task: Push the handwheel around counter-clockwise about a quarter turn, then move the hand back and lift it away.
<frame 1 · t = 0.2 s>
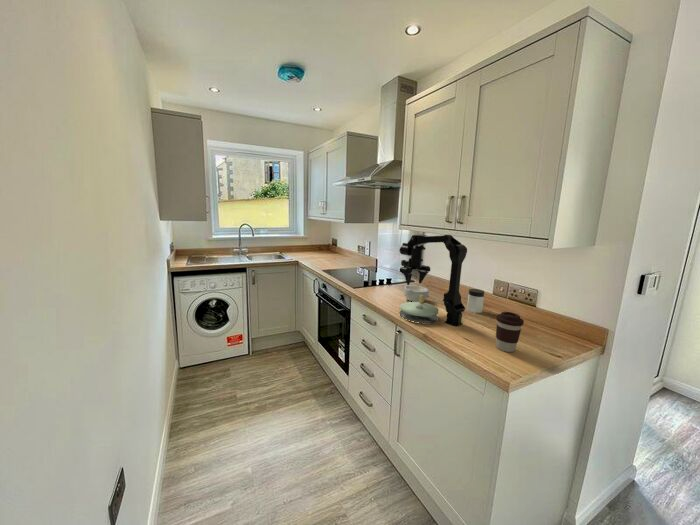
hand: (414, 284, 165), 14 cm above the worktop, tool pointing down, fingers open, 9 cm apart
handwheel: (419, 304, 153), point 7 cm above the worktop, hinge at 0.0°
paper bowls: (415, 300, 184), on the worktop
jar: (474, 310, 169), on the worktop
grey metal shallow dish: (418, 316, 155), on the worktop
coffee cup: (505, 348, 122), on the worktop
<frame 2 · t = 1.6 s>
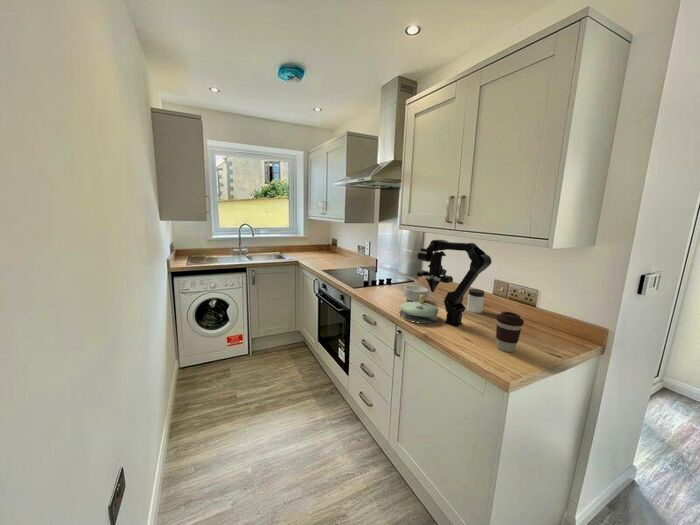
hand: (432, 292, 156), 13 cm above the worktop, tool pointing down, fingers closed
nothing on the worktop moved.
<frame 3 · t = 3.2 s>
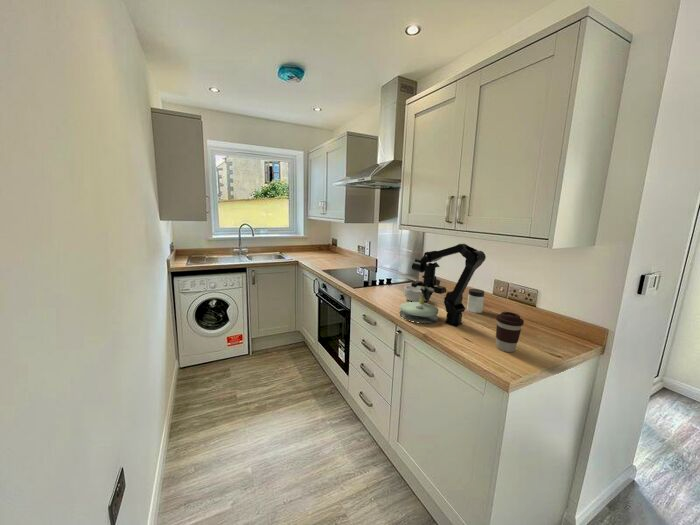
hand: (426, 302, 160), 6 cm above the worktop, tool pointing down, fingers closed
handwheel: (419, 304, 153), point 7 cm above the worktop, hinge at 0.3°, touching gripper
everything else where it was.
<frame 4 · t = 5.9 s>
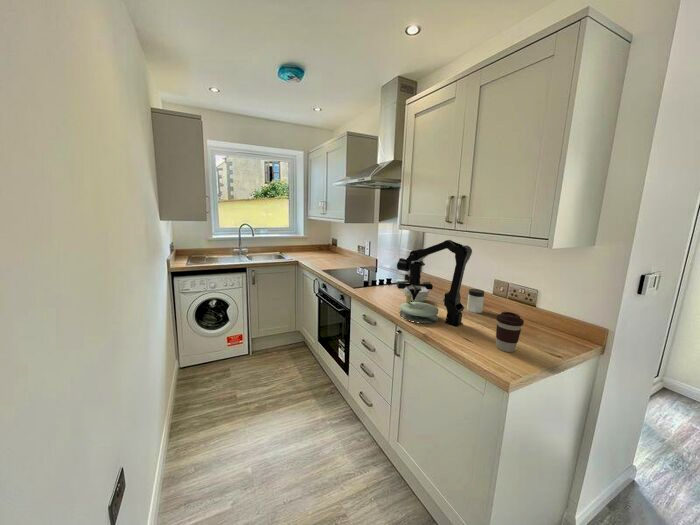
hand: (413, 300, 161), 6 cm above the worktop, tool pointing down, fingers closed
handwheel: (419, 304, 153), point 7 cm above the worktop, hinge at 52.7°, touching gripper
everything else where it was.
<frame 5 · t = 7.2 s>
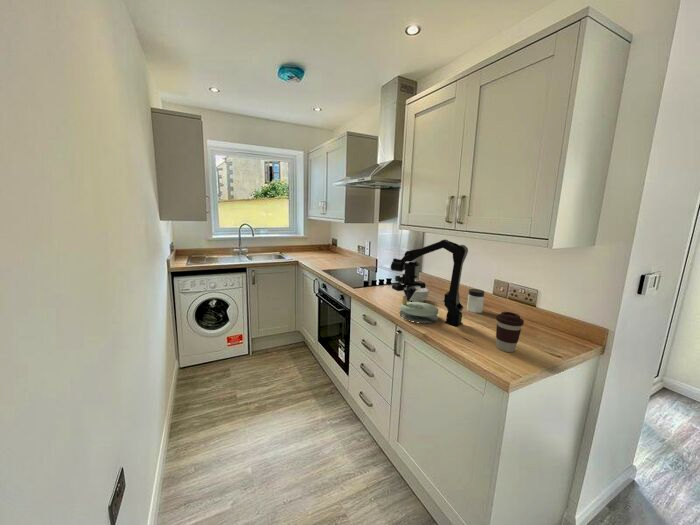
hand: (407, 300, 160), 6 cm above the worktop, tool pointing down, fingers closed
handwheel: (419, 304, 153), point 7 cm above the worktop, hinge at 78.0°, touching gripper
everything else where it was.
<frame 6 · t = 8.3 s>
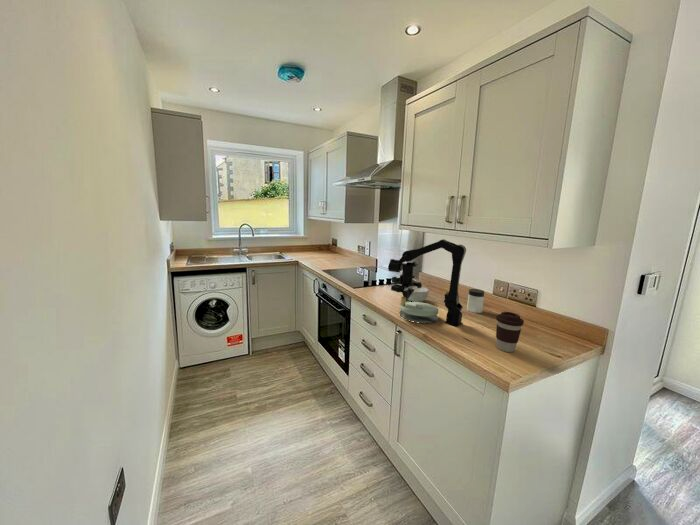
hand: (405, 301, 159), 6 cm above the worktop, tool pointing down, fingers closed
handwheel: (419, 304, 153), point 7 cm above the worktop, hinge at 93.0°, touching gripper
everything else where it was.
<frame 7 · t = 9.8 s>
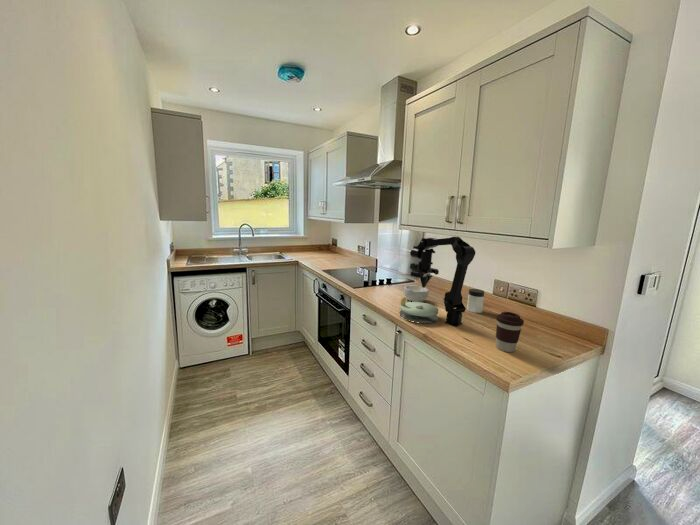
hand: (423, 287, 164), 13 cm above the worktop, tool pointing down, fingers closed
handwheel: (419, 304, 153), point 7 cm above the worktop, hinge at 93.1°
everything else where it was.
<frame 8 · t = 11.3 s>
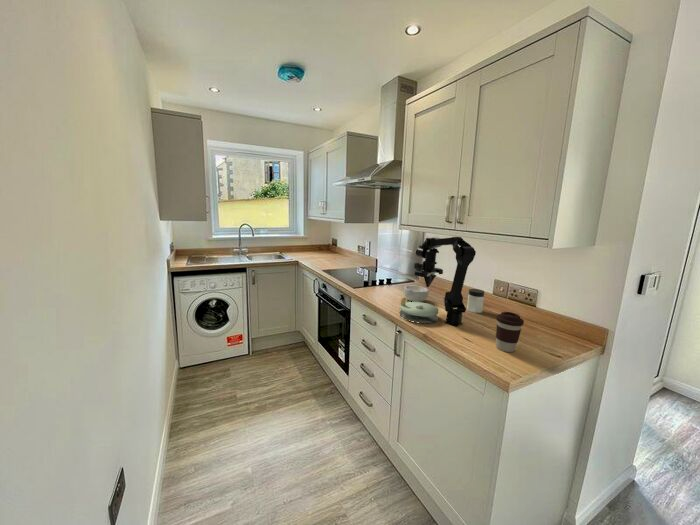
hand: (427, 286, 166), 13 cm above the worktop, tool pointing down, fingers closed
nothing on the worktop moved.
at the end: handwheel at +93° (first picture: +0°) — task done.
